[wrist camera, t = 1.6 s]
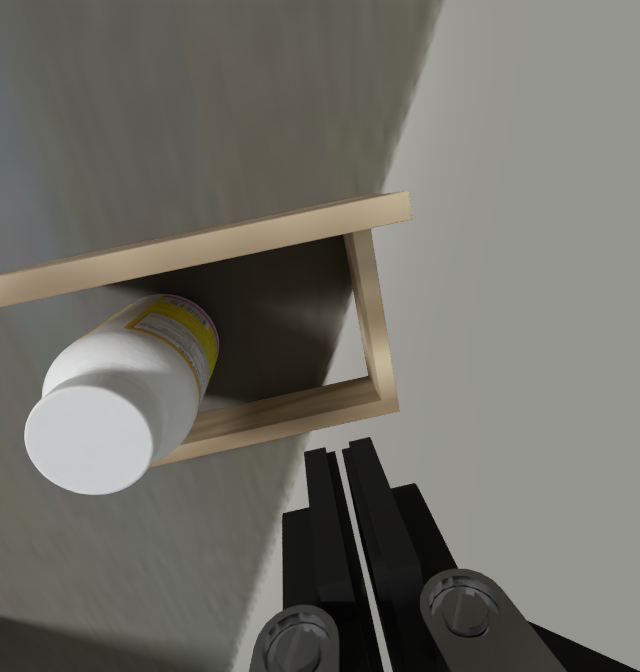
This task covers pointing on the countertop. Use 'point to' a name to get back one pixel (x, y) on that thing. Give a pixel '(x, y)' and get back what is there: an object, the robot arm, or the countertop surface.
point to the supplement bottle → (123, 395)
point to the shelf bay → (237, 240)
